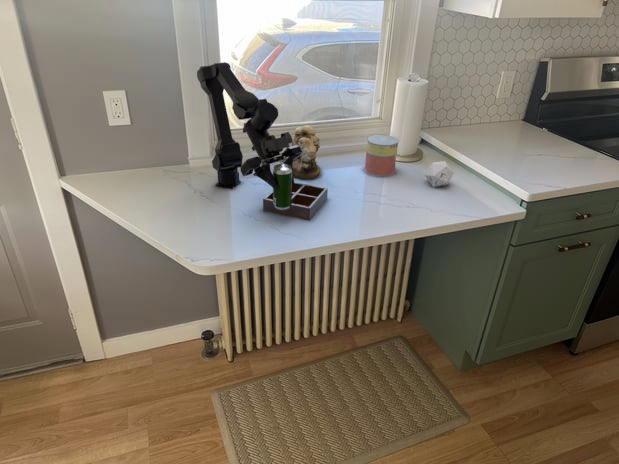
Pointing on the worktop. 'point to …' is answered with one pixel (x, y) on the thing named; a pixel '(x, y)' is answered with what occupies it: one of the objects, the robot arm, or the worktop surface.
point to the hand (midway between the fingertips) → (285, 186)
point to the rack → (300, 201)
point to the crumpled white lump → (439, 174)
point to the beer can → (282, 186)
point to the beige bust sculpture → (306, 153)
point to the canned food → (381, 155)
